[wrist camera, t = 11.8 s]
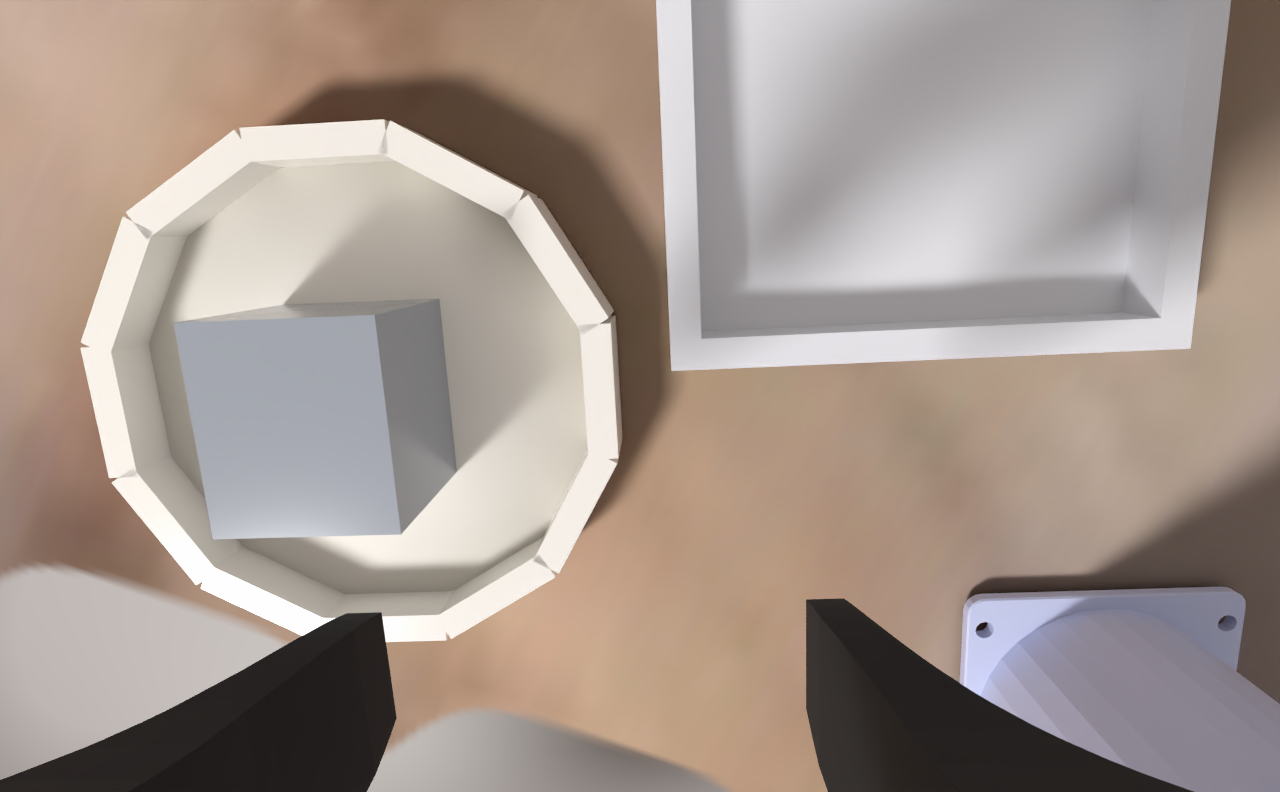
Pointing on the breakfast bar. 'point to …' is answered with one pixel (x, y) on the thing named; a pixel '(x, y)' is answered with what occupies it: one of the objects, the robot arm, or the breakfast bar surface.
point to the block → (319, 416)
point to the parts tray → (934, 176)
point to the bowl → (356, 272)
